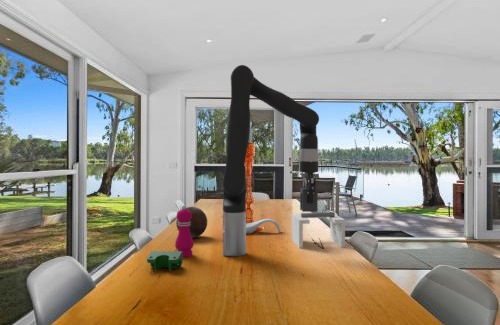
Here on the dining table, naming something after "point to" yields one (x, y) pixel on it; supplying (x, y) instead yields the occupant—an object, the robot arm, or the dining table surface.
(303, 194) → the gray u-channel post
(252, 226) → the white curved piece
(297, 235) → the white channel bracket
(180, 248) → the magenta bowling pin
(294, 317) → the dining table surface
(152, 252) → the clamp
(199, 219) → the wooden sphere
